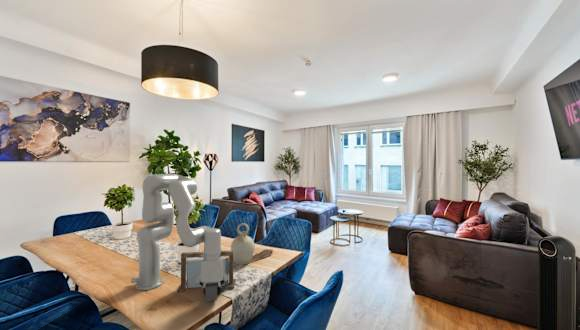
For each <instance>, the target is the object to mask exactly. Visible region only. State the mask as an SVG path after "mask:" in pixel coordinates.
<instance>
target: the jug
mask: <svg viewBox="0 0 580 330" xmlns="http://www.w3.org/2000/svg"><path fill="white" fill-rule="evenodd" d="M242 226H244V227H245V228H246V231H245V230H241V231H240V228H241V227H242ZM236 227H237V228H236V232H237V233H238V236H237V237H236V236H235V238H234V239H233V240H232V241H231V245H230V251H232V250H233V264H234V263H235V264H237V265H246V264H250V263H251V261H252V258H253V256H254V254H255V242H254V239H253V238H252V237H251V236H249V235H247V234H248V233H249V230H250V228H249V225H248V224H247V223H244V222H242V223H240V224H238V226H236Z"/></svg>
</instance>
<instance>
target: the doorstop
mask: <svg viewBox="0 0 580 330" xmlns="http://www.w3.org/2000/svg"><path fill="white" fill-rule="evenodd" d="M217 287H218V283H217V282H210V283H207V285H206V287H205V294H204V301H205V302H209V301H218V297H219V296H217Z"/></svg>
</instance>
